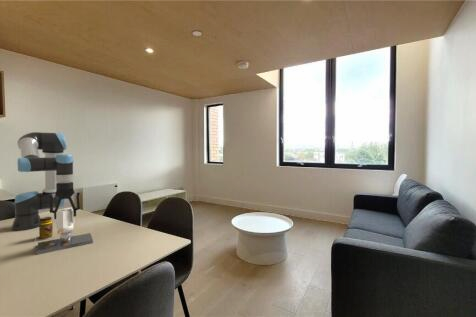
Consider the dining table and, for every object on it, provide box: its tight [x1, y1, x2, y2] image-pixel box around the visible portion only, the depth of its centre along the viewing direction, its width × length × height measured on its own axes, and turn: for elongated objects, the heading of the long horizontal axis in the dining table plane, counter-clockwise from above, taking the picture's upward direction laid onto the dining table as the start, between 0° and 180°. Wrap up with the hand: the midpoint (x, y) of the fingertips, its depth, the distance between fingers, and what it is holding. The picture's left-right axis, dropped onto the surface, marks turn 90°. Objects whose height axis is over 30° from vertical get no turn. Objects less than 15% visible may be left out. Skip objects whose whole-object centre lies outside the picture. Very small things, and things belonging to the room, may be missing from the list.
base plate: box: [35, 231, 94, 255], centre depth 126 cm, size 14×24×7 cm, turn 128°
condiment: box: [33, 216, 55, 242], centre depth 135 cm, size 7×8×12 cm
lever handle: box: [55, 207, 75, 235], centre depth 125 cm, size 10×7×12 cm
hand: (65, 223), depth 126 cm, fingers closed on lever handle, 6 cm apart
